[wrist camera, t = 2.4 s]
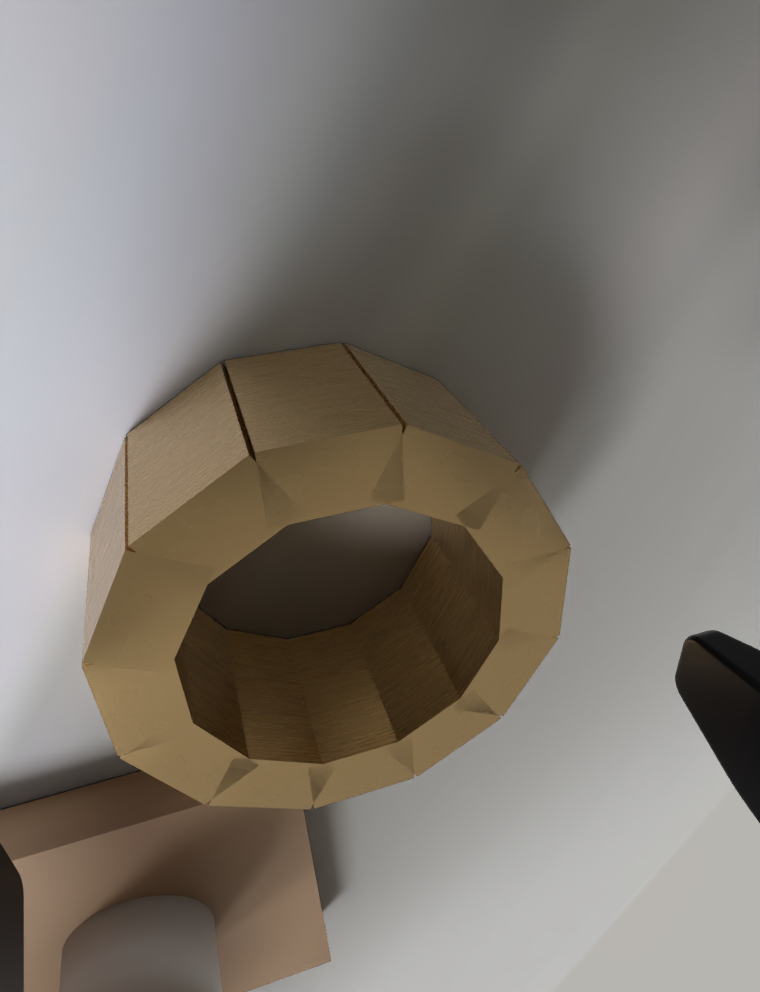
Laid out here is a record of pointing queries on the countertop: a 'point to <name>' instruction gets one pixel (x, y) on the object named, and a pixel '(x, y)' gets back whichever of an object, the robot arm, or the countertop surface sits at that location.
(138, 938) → the peg stand
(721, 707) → the robot arm
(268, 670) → the ring
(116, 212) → the countertop surface
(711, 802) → the countertop surface
